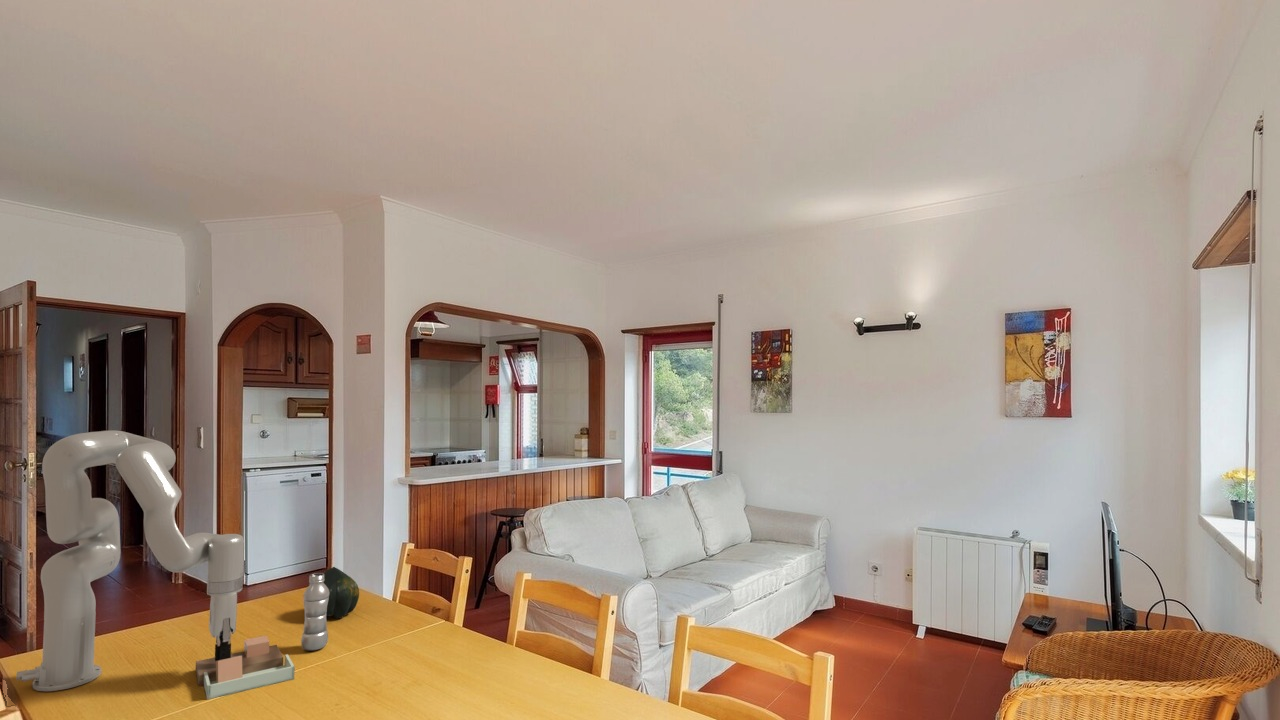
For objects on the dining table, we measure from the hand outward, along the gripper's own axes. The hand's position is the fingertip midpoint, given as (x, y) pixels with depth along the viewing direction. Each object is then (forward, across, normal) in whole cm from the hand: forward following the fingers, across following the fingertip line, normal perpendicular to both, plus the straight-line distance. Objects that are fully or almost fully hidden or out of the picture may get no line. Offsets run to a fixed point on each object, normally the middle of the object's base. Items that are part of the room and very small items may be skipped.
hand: (222, 660), depth 164 cm
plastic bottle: (+4, -4, +22) cm, 23 cm away
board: (+4, -2, +4) cm, 6 cm away
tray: (+4, +8, +5) cm, 10 cm away
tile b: (+1, -4, +8) cm, 9 cm away
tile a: (+1, +4, +1) cm, 4 cm away
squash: (+4, -29, +32) cm, 44 cm away
